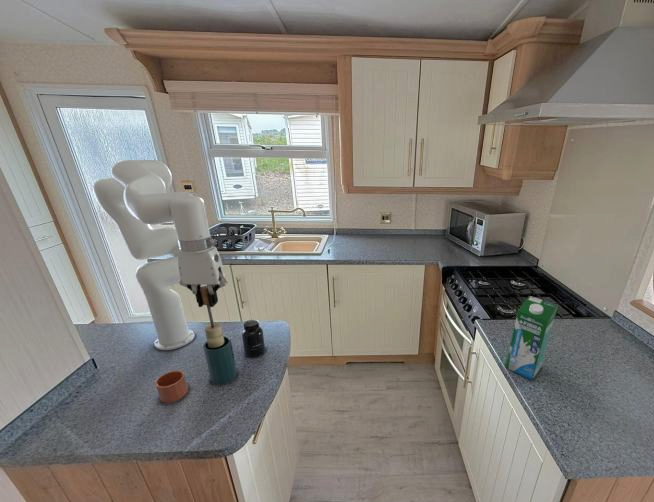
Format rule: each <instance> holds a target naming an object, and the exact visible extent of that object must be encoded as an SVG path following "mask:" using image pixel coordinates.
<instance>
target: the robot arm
mask: <svg viewBox="0 0 654 502" xmlns="http://www.w3.org/2000/svg"><path fill="white" fill-rule="evenodd" d="M110 172H111V173H110V174H111V177H105V178H101V179H98V180H96V181H95V182H94V183H93V186H92V192H93V195H94V198H95V200H96V202H97V203H98V205H99V207H100V208H101V210H103V211H104V213H105V214H106V215H107V216H108V217H109V218H110V219H111V220H112V222H114V224H115V226H116V227H117V229H118V231H119V233H120V235H121V237H122V239H123V241H124V244H125V246H126V248H127V249H128V251H129V253H130V255H131V256H132V257H133V258H134V259H136V260H138V261H143V260H144V261H145V260H150V259H155V258H159V257H164V256H168V255H170V256H171V257H167V258H161V259H156V260H153V261H149V262H146V263H143V264H141V265H139V266H138V267H137V268H136V270H135V278H136V280H137V282H138V284H139V286H140V288H141V290H142V292H143V294H144V297H145V300H146V303H147V305H148V309H149V312H150V316H151V319H152V323H153V326H154V329H155V332H156V335H157V336H156V337H157V338H156V339H155V340H154V343H153V345H154V347H155V349H157V350H159V351H173V350H177V349H180V348H183V347H184V346H187V345H188V344H190V343H191V342H192V341H193V340H194V339H195V336H196V335H195V331H193V330H191V329H189V327H188V323H187V322H188V321H187V319H186V315H185V312H184V306H183V302H182V300H181V299H182V298H181V296H180V294H179V293H178V292H177V291H175V290H173V289H172V288H170V287H172V286H174V285H177V284H179V285H180V286H181V287H185V288H187V289H188V290H189V291H191V292H192V294H193V295H195V300H196V303H197V305H198V308H202V307H204V305H203V301H202V297H201V292H200V288H201V287H203V286H207V287H208V291H209V294H208V300H209V305H210V308H214V307H215V306H216V305H217V304H218V302H219V300H218V299H219V298H218V292H217V291H219V289H221V288H224V287H225V286H227V285H228V284H229V283H228V280H227V279H226V276H225V268H224V265H223V261H222V258H221V255H220V254H219V251H218V249H217V247H216V245H217V240H216V239H212V236H211V231H210V225H209V222H208V216H207V210H206V205H205V201H204V199H203V198H201V197H200V196H198V195H193V194H192V193H191V192H188V191H171V192H168V190H169V189H170V187H171V185H172V183H173V175H172V173H171V170H170V168H169V167H168V165H166V164H165V163H164V162H163V161H160V160H157V159H126V160H120V161H118V162H116V163H115V164H113V165H112V167H111V169H110ZM166 223H173V226H174V227H170V226H167V227H159V228H153V227H152V226H151V225H161V224H166Z"/></svg>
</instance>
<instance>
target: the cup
mask: <svg viewBox="0 0 654 502" xmlns="http://www.w3.org/2000/svg"><path fill="white" fill-rule="evenodd" d="M223 337H224V344H223V345H222V346H220V347H217V348H210V347H209V346H208V342H207V340H206V341H205V342H204V343H203V345H202V349H203V352H204V358H205V361H206V366H207V370H208V373H209V378H210V381H211V383H212V384H214V385H224V384H227V383H229V382H231V381H233V380H234V379H235V378H236V376H237V375H238V370H237V366H236V361H235V355H234V350H233V344H232V340H231V338H230V337H229V336H225V335H223Z"/></svg>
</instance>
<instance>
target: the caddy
mask: <svg viewBox="0 0 654 502" xmlns="http://www.w3.org/2000/svg"><path fill="white" fill-rule="evenodd" d="M154 386H155V389H156V392H157V395H158V398H159V400H160V402H161V403H166V404H169V403H174V402H177V401H179V400H181V399H182V398H184V397H185V396H186V395H187V393H189V392H188V391H189V386H188V382H187V378H186V376H185V372H184V371H182V370H172V371H168V372H165V373H163V374H162V375H160V376H159V377H157V379H155V383H154Z"/></svg>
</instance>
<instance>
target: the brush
mask: <svg viewBox="0 0 654 502" xmlns="http://www.w3.org/2000/svg"><path fill="white" fill-rule="evenodd" d="M200 292H201V297H202V301H203V306H206V309H207V313H208V318H209V324H207V325H205V327H204V333H205V337H206V341H207V342H208V346H209V347H210V348H217V347H220V346H222V345H223V344H224V337H223V336H224V332H223V328H222V324H221V323H220V322H219V323H218V322H214V318H213V313H212V309H211V308H212V307H210V305H209V300H208V294H209V291H208V287H207V285H202V287H201V288H200Z"/></svg>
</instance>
